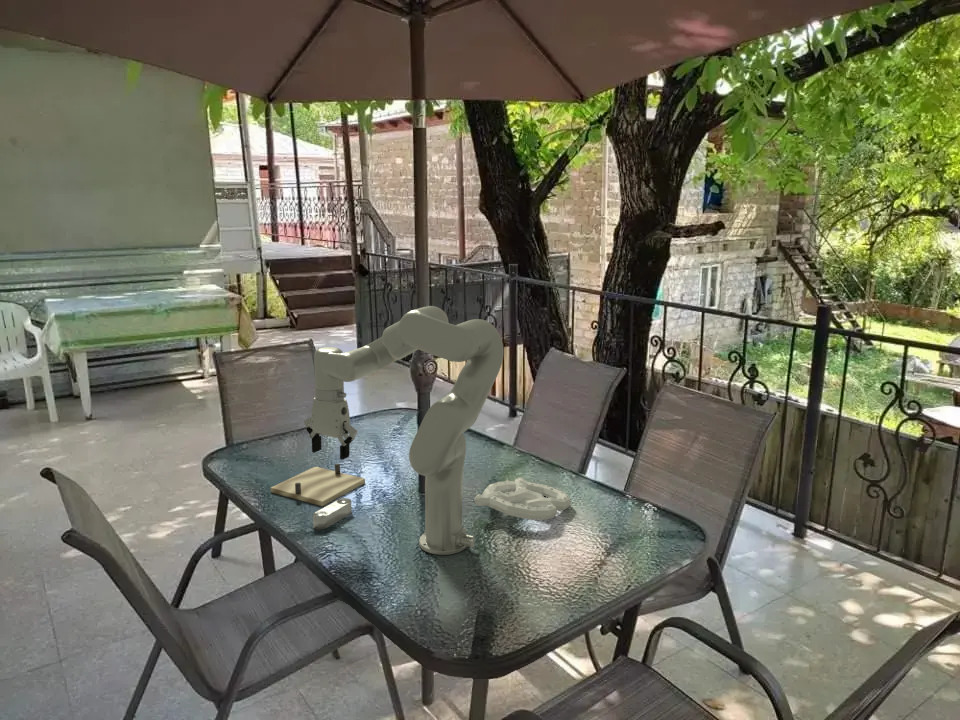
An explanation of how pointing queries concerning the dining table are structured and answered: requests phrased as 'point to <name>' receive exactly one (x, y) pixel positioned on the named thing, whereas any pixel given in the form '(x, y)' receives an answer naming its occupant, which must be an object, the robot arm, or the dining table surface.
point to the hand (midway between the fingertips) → (330, 454)
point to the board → (318, 485)
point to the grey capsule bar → (332, 513)
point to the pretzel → (524, 499)
